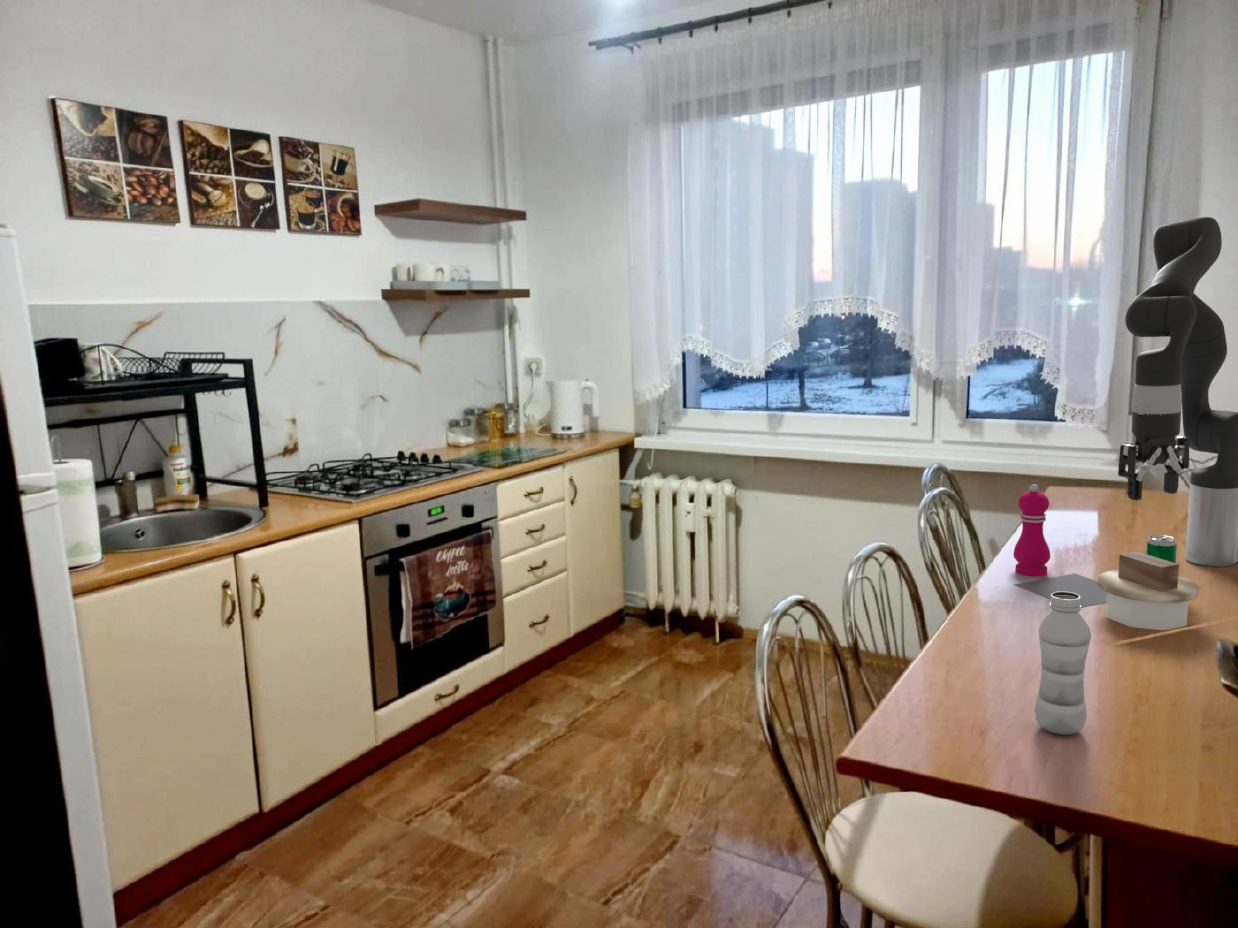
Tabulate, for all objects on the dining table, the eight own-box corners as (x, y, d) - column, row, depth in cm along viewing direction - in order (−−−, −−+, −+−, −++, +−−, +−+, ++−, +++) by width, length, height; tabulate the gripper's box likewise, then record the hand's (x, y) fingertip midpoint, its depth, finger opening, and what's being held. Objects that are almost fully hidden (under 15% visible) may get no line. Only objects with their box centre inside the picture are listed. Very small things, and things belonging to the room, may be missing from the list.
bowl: (1142, 603, 170) (1143, 573, 169) (1202, 624, 158) (1204, 593, 157) (1090, 613, 166) (1091, 583, 165) (1148, 636, 155) (1149, 603, 154)
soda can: (1140, 597, 173) (1143, 538, 171) (1146, 590, 177) (1150, 533, 175) (1170, 602, 170) (1173, 542, 168) (1175, 595, 173) (1179, 536, 171)
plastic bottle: (1024, 720, 127) (1029, 590, 124) (1069, 716, 128) (1074, 586, 124) (1049, 742, 121) (1055, 605, 117) (1096, 738, 122) (1103, 601, 118)
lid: (1143, 569, 171) (1145, 542, 170) (1220, 594, 156) (1223, 564, 155) (1077, 581, 167) (1078, 553, 166) (1150, 608, 152) (1152, 577, 151)
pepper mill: (1053, 579, 186) (1057, 487, 182) (1017, 579, 188) (1020, 488, 184) (1044, 568, 193) (1047, 480, 189) (1009, 568, 195) (1012, 480, 191)
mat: (1075, 575, 188) (1075, 573, 188) (1139, 598, 173) (1139, 595, 173) (1013, 586, 183) (1013, 584, 183) (1074, 610, 168) (1074, 608, 168)
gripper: (1167, 402, 163) (1163, 487, 166) (1108, 411, 159) (1105, 497, 162) (1205, 406, 156) (1200, 494, 159) (1144, 415, 152) (1140, 506, 155)
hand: (1152, 496), depth 161 cm, fingers open, 8 cm apart
